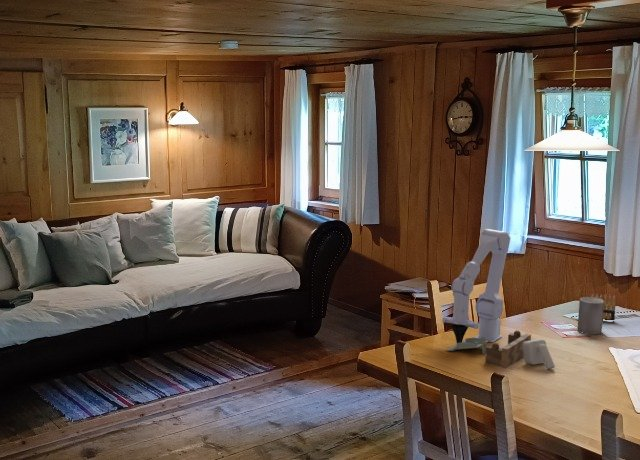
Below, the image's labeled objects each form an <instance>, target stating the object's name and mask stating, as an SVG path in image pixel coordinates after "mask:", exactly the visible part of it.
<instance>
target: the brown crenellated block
mask: <svg viewBox="0 0 640 460" xmlns="http://www.w3.org/2000/svg"><path fill="white" fill-rule="evenodd" d="M507 336H508V337H507V345H505V346H503V347H502V348H501V347H500V344H499V343H497V342H493V343H492V345H488V346H486V353H485V361H484V363H485V364H486V365H487V364H488V365H491V366H495V367H500V368H505V369H507V368H509V367H510V366H512V365H513V364H514V363H516V362H518V361H519V360H520V359H522V358H524V352H523V343H524V342H525V341H531V340H532V334H529V333H525V334H523V335H522V333H521V331H520V330H517V329H516V330H515V331H514V332H513V333H509V334H508V335H507Z"/></svg>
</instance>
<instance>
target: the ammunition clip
mask: <svg viewBox="0 0 640 460" xmlns="http://www.w3.org/2000/svg"><path fill="white" fill-rule="evenodd" d="M590 297H595V298H600V299H602V300H604V307H603V319H605V320H615V319H616V318H615V317H616V316H615V315H616V295H615V294H614V295H613V297H611V294H609V295H608V298H607V294H604V296H603V294H602V293H601V294H600V296H599V294H598V293H596V295H594V293H592V294H591V296H590Z"/></svg>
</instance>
